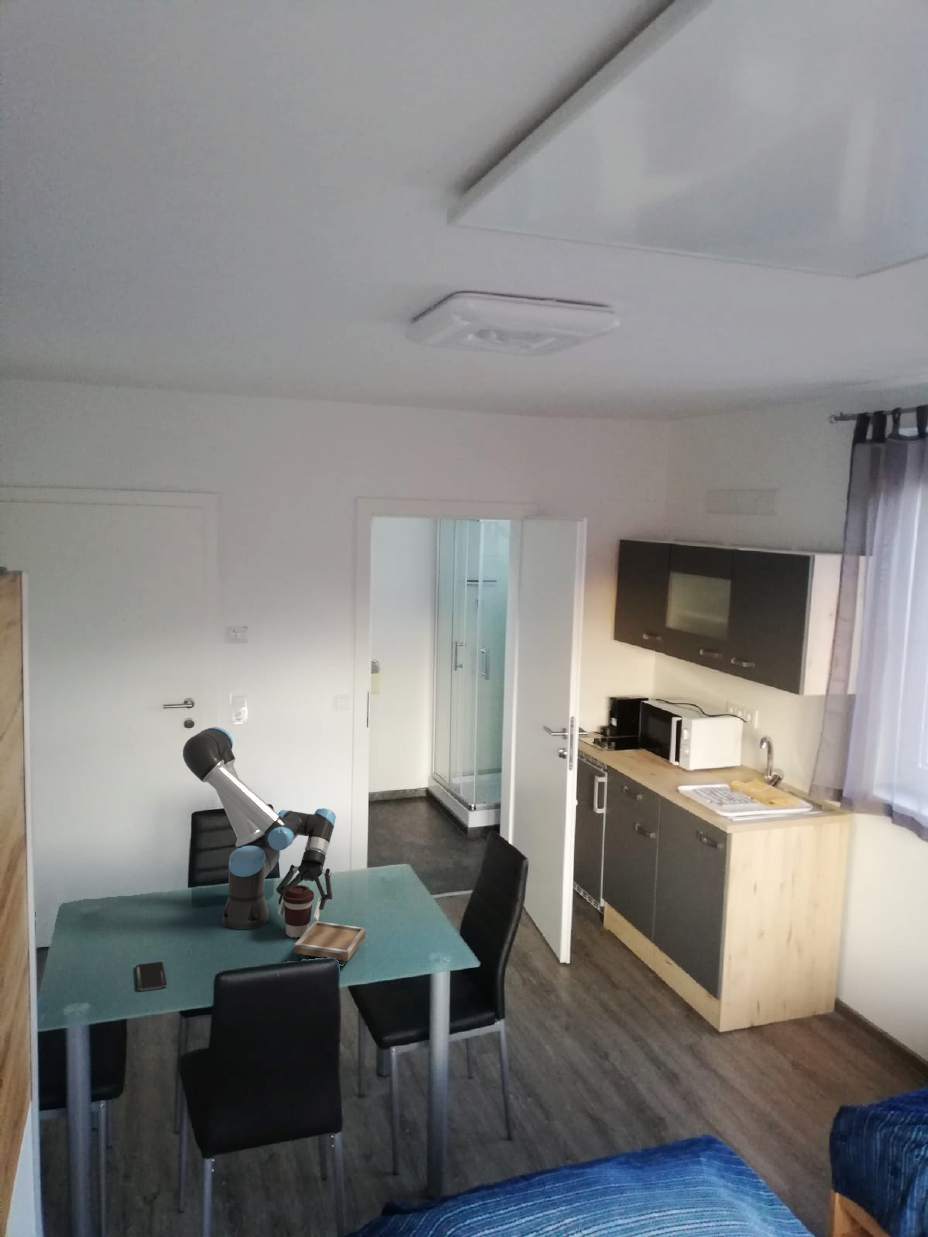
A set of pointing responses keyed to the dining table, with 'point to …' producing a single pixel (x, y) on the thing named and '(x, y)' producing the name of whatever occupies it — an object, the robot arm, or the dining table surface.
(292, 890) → the coffee cup
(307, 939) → the shallow square tray
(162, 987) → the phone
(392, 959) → the dining table surface
